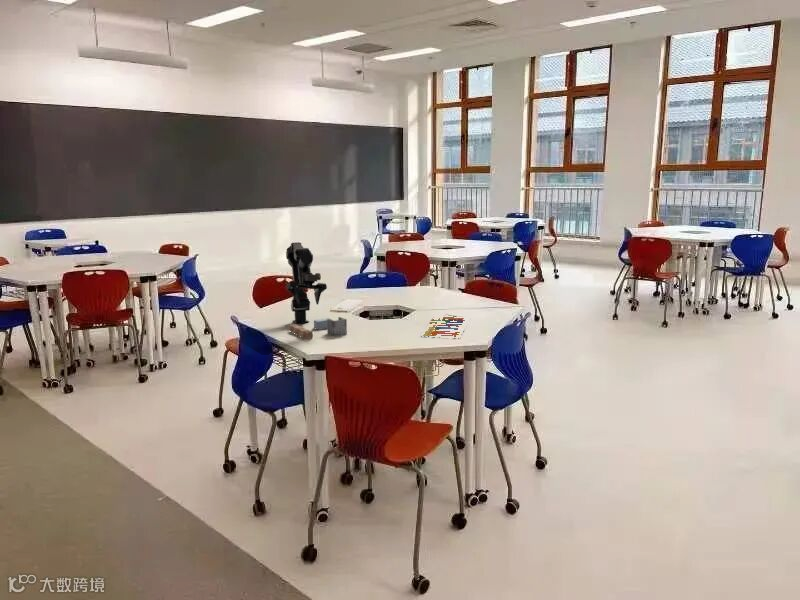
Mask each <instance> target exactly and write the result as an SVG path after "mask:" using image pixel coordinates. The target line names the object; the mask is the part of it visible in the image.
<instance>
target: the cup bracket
mask: <svg viewBox="0 0 800 600" xmlns="http://www.w3.org/2000/svg"><path fill="white" fill-rule="evenodd" d="M331 319H332V318H330V319H327V328H326V329H327V335H330V334H331V335H330V336H332V335H333V337H337V336H342V335H341V334H343V335H347V334H348V330H347V329H348V327H347V326H348V324H347V321H348V320H347V318H344V317H341V316H339V317H338V319H336V320H334V319H332V320H331ZM336 335H337V336H336Z"/></svg>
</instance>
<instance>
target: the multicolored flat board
mask: <svg viewBox="0 0 800 600" xmlns="http://www.w3.org/2000/svg"><path fill="white" fill-rule="evenodd" d="M447 315H448V316H453V317H443V319H442V321H445V322H446V323H441V324H446V325H437V326H448V327H437V326H436V325H433V327H429V329H428V331H426V332H425V334H424V335H423V336H436V335H437V334H452V335H441V336H453V335H454V337H456V335H459V334H457V333H460V332H455V333H445V332H450V331H436V330H439V329H454V330H458V328H451V327H450V326H456V327H459V326H458V325H462V324H447V323H463V321H465V320H463V319H464V318H454V317H458V316H457V315H451V314H447ZM445 319H448V320H445ZM453 320H454V321H457V322H450V321H453ZM430 321H441V320H440V318H439V319H438V320H434V319H433V318H431V319H430ZM430 321H429V324H432V323H435V324H437V322H430ZM435 326H436V327H435ZM434 328H435V329H434ZM433 330H435V331H433ZM431 334H432V335H431Z"/></svg>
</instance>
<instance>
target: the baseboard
mask: <svg viewBox="0 0 800 600" xmlns="http://www.w3.org/2000/svg"><path fill="white" fill-rule="evenodd" d="M363 301H364V300H363V299H348V298H347V299H345V300H344V301H342V302H340V303H339V304H338V305H335V306H334V307H333V308H330V310H329V311H330V312H331V311H337V312H336V313H351V312H352V311H353V310H354V309H355V308H357V307H358V306H359V305H361V304H362V303H363ZM361 302H362V303H361ZM360 303H361V304H360ZM356 306H357V307H356ZM352 309H353V310H352Z"/></svg>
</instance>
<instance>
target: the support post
mask: <svg viewBox="0 0 800 600" xmlns="http://www.w3.org/2000/svg"><path fill="white" fill-rule="evenodd" d="M327 319H331V320H333V319H332V318H329V317H326V318H325V317H324V318H319V319H313V329H315V328H316V330H317V329H319V330H324V329H323V328H326V329H327Z"/></svg>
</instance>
